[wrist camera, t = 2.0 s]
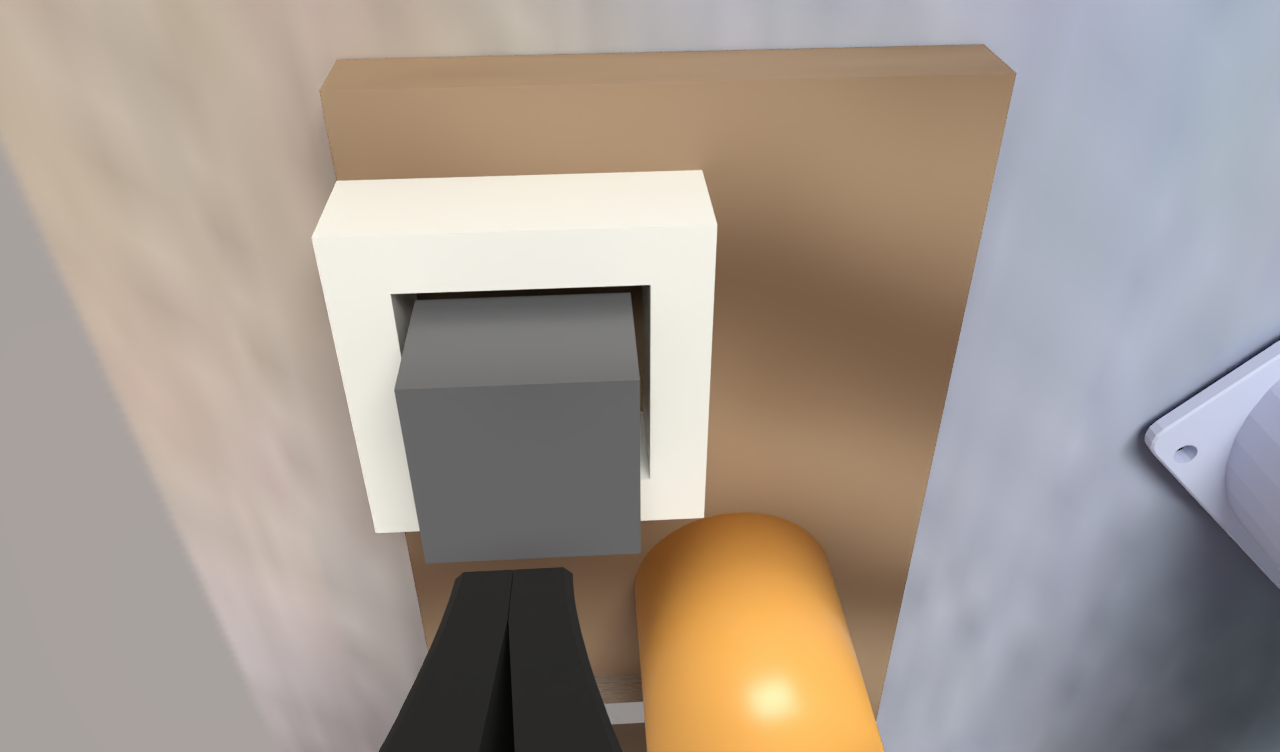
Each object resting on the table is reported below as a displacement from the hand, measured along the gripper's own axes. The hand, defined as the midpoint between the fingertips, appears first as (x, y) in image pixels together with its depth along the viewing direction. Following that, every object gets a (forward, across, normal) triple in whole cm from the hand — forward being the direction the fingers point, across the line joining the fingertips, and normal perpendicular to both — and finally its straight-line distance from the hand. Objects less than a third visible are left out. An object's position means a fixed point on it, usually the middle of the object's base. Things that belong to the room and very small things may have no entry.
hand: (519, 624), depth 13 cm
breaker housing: (+7, 0, 0) cm, 7 cm away
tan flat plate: (+8, -2, +7) cm, 11 cm away
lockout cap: (+7, -4, +7) cm, 11 cm away
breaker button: (+5, 0, 0) cm, 5 cm away
